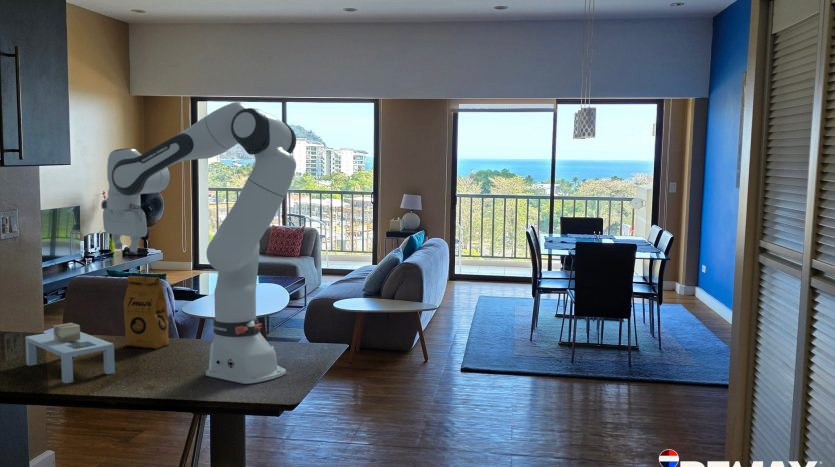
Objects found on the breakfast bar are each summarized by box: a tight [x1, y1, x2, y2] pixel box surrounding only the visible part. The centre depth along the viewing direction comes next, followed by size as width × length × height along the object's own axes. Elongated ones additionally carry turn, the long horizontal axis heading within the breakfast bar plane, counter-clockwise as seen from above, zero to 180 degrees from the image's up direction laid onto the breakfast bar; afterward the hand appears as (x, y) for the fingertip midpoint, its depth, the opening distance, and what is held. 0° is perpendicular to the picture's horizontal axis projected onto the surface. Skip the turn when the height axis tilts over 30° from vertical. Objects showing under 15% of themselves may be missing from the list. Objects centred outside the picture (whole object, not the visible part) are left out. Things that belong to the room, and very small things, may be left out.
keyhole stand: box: [25, 331, 116, 384], centre depth 194 cm, size 26×13×8 cm, turn 49°
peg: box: [53, 322, 81, 358], centre depth 194 cm, size 5×5×8 cm
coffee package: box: [123, 275, 169, 350], centre depth 218 cm, size 10×12×22 cm
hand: (125, 250), depth 208 cm, fingers open, 8 cm apart
